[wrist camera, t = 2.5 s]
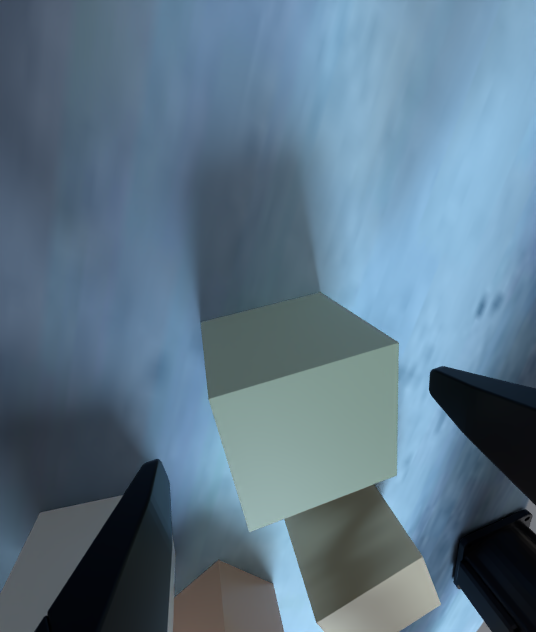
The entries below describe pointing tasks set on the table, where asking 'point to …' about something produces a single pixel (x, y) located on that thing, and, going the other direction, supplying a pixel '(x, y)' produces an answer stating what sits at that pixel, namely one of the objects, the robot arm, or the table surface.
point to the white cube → (55, 563)
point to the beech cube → (360, 565)
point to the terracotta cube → (227, 603)
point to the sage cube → (301, 404)
